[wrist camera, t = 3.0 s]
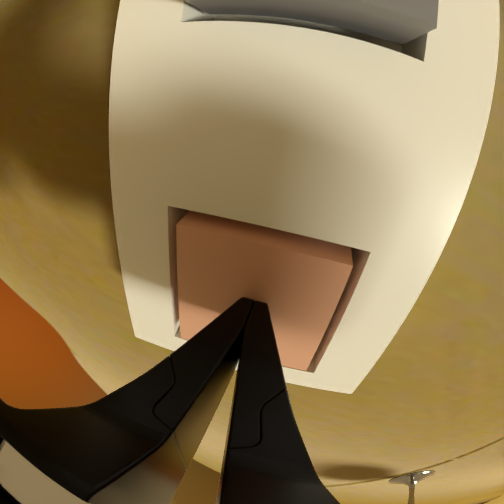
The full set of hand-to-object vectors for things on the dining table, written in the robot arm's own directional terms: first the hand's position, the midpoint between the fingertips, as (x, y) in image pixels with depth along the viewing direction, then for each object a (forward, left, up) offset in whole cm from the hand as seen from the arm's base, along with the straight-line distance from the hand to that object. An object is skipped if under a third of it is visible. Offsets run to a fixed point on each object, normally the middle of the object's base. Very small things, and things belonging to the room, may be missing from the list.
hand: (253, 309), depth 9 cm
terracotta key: (0, 0, -2) cm, 2 cm away
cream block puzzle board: (0, -11, -3) cm, 11 cm away
